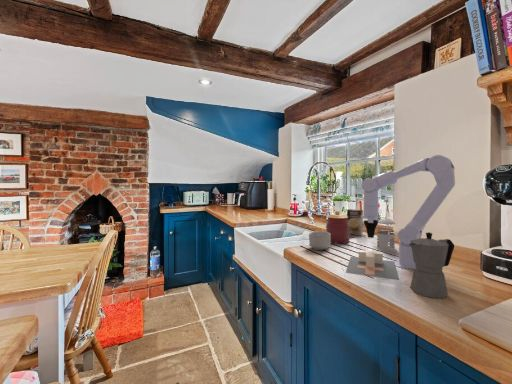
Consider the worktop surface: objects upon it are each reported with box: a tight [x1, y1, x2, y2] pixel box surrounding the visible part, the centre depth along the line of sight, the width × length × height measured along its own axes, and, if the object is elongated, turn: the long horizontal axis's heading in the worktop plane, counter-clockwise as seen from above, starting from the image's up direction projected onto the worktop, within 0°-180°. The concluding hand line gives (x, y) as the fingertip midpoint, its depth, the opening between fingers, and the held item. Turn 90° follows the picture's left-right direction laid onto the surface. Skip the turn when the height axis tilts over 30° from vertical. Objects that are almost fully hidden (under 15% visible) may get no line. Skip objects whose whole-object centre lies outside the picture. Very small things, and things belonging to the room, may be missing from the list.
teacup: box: [308, 230, 331, 251], centre depth 126 cm, size 14×11×8 cm
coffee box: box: [346, 208, 364, 236], centre depth 160 cm, size 9×6×16 cm
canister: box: [325, 210, 351, 244], centre depth 141 cm, size 13×13×18 cm
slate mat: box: [345, 256, 400, 281], centre depth 96 cm, size 17×22×1 cm
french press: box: [374, 199, 398, 252], centre depth 122 cm, size 10×12×25 cm
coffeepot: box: [409, 232, 455, 299], centre depth 74 cm, size 15×9×18 cm, turn 101°
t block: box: [358, 249, 384, 268], centre depth 99 cm, size 9×9×4 cm
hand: (370, 237), depth 107 cm, fingers closed
